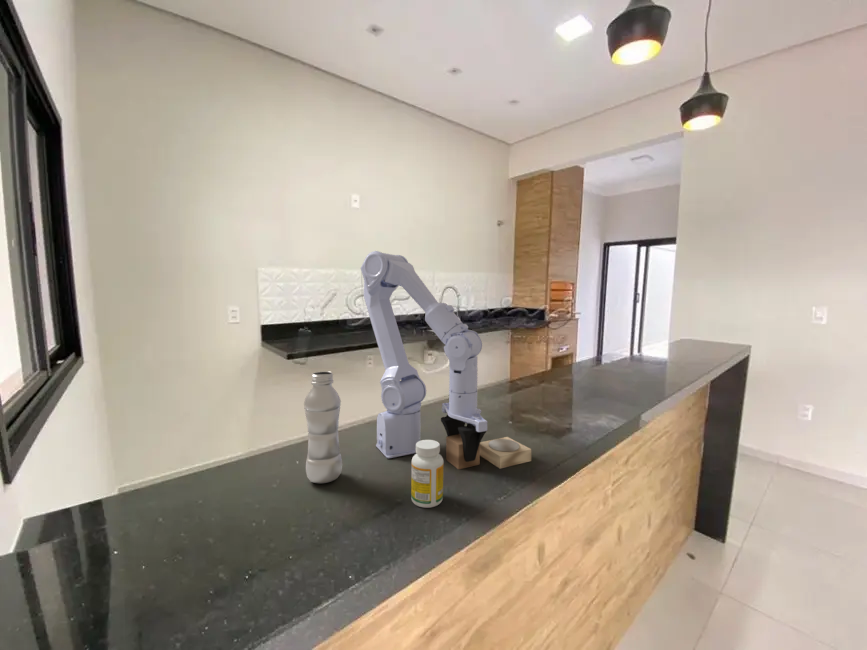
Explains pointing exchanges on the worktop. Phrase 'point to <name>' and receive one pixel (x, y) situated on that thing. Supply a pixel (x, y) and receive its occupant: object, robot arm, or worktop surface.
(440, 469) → the supplement bottle
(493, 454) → the base block
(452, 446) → the walnut cube
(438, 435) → the worktop surface
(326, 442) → the plastic bottle
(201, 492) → the worktop surface
